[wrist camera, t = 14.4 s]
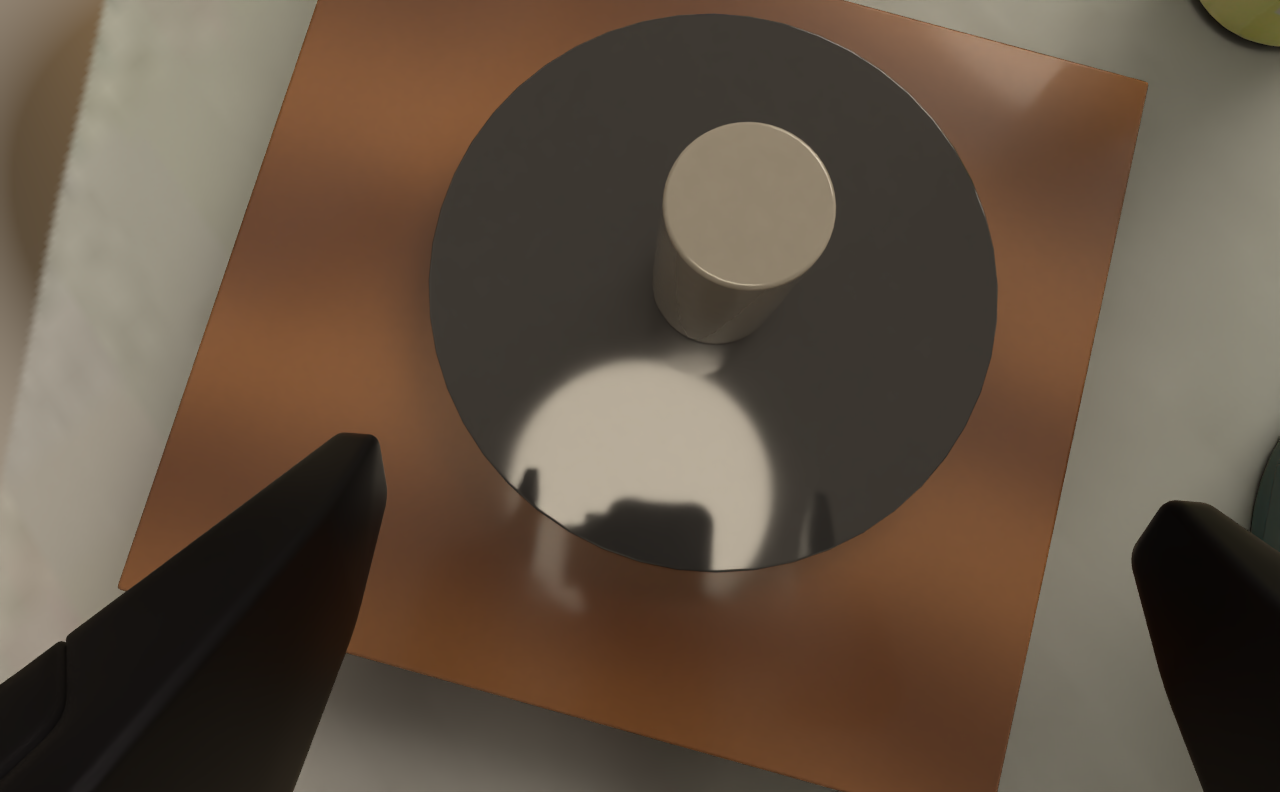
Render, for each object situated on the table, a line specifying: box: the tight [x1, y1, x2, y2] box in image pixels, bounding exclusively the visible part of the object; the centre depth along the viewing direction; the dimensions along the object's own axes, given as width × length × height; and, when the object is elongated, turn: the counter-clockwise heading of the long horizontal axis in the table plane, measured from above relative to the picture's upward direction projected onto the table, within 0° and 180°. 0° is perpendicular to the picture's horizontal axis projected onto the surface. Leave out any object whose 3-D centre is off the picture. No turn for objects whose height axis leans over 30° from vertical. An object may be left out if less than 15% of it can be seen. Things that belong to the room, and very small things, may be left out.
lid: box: [428, 13, 998, 573], centre depth 16 cm, size 13×13×6 cm
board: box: [118, 0, 1148, 792], centre depth 20 cm, size 18×20×2 cm
